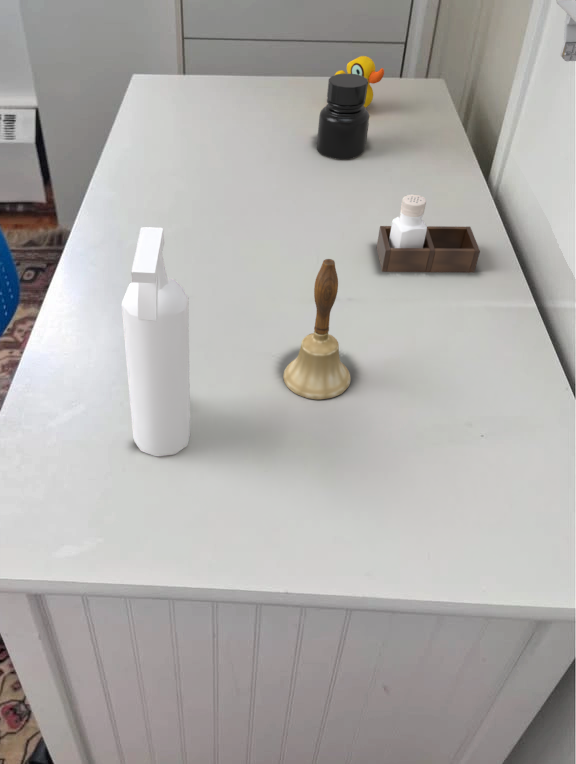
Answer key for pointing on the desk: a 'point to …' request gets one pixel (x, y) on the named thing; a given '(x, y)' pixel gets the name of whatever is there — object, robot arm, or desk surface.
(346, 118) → the ink bottle
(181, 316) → the white spray bottle
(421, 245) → the pepper shaker
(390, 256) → the holder
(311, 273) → the desk surface
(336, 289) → the hand bell
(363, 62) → the duckling
